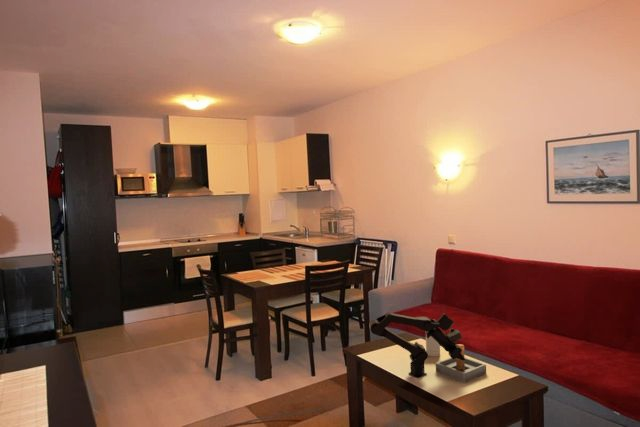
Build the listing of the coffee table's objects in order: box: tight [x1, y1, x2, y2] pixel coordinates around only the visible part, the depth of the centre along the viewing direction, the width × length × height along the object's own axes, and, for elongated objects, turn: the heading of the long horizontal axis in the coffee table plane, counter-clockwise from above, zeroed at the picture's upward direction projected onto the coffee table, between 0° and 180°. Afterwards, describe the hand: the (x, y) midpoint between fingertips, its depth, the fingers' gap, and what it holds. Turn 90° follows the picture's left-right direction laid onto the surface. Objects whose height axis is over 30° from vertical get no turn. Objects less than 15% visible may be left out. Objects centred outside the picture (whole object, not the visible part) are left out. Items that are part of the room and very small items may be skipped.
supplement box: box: [425, 336, 441, 357], centre depth 243 cm, size 7×7×13 cm
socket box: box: [435, 357, 487, 384], centre depth 216 cm, size 17×17×4 cm
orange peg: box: [456, 343, 466, 371], centre depth 216 cm, size 4×4×13 cm
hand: (463, 358), depth 216 cm, fingers closed on orange peg, 4 cm apart
